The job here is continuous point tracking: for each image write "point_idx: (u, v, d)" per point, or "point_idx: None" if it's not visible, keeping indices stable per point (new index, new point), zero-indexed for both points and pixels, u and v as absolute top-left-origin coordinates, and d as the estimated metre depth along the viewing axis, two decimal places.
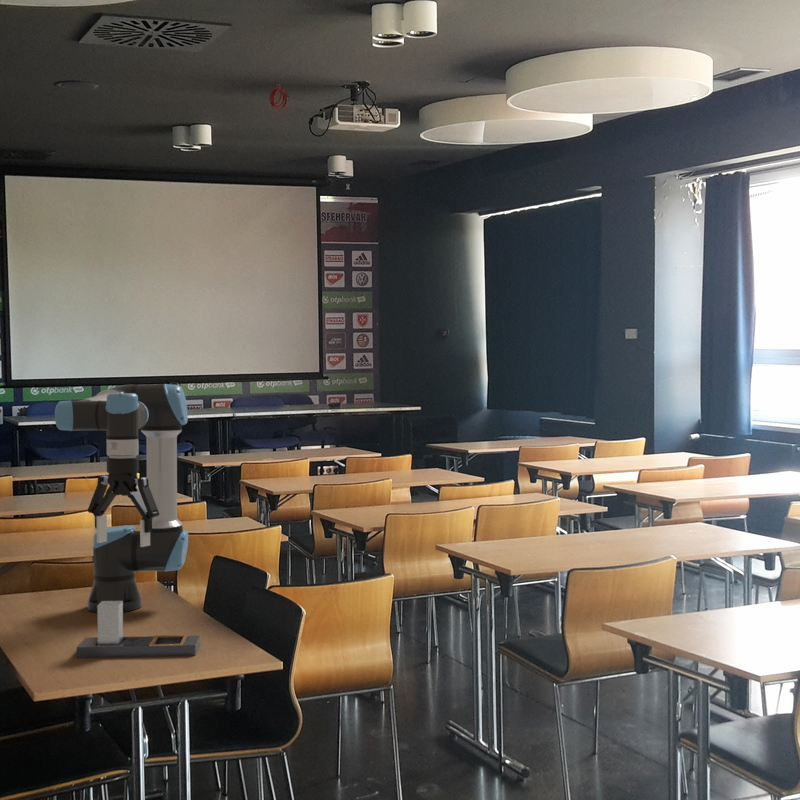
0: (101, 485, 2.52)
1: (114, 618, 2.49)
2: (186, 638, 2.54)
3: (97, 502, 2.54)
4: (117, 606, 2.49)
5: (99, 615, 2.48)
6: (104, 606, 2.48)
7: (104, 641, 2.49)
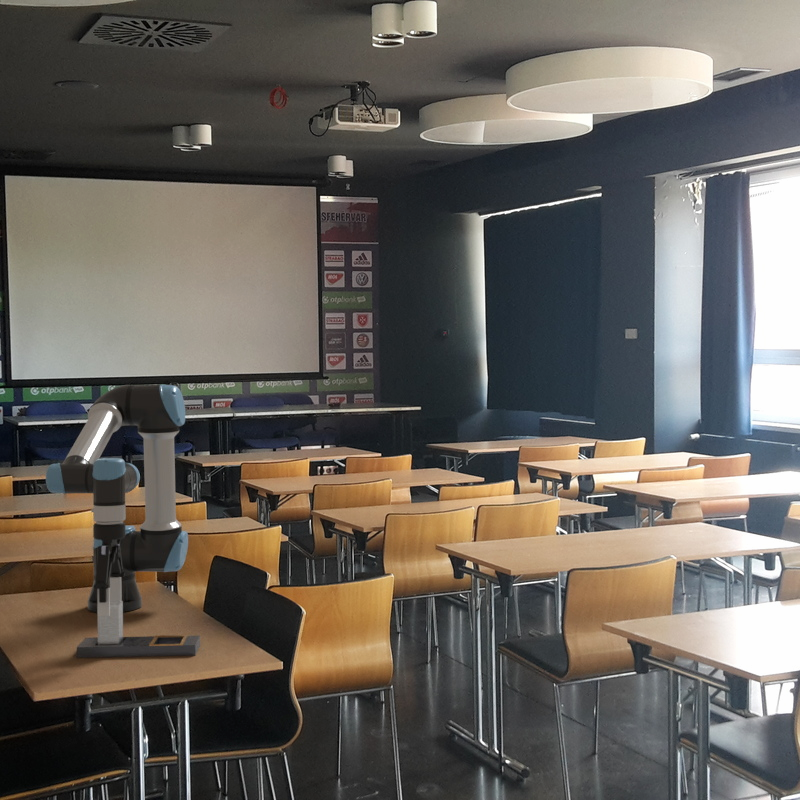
0: None
1: (114, 618, 2.49)
2: (186, 638, 2.54)
3: None
4: (117, 606, 2.49)
5: None
6: None
7: (104, 641, 2.49)
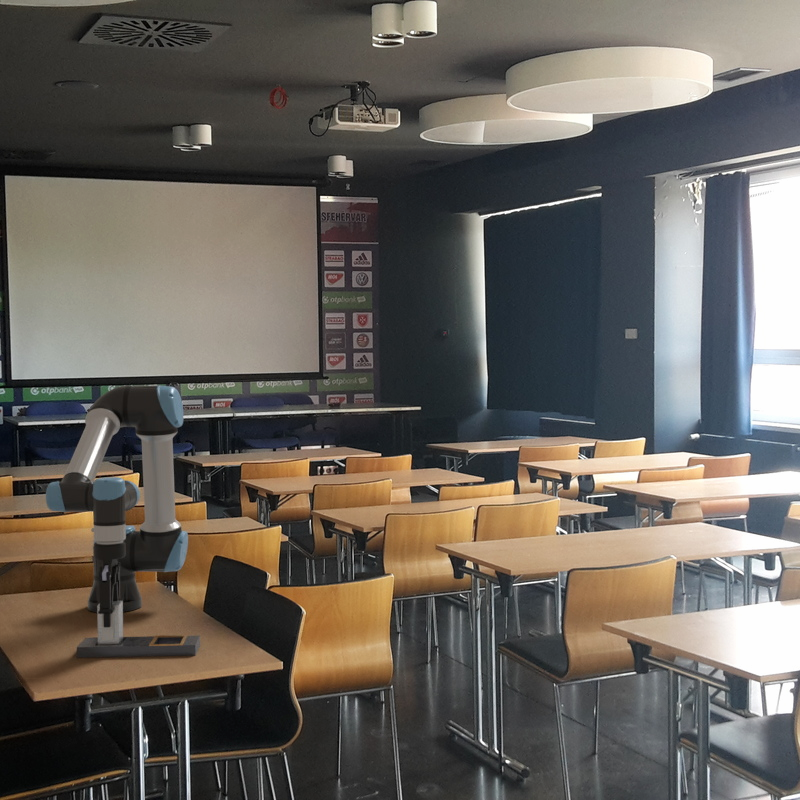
0: None
1: (114, 618, 2.49)
2: (186, 638, 2.54)
3: None
4: (117, 606, 2.49)
5: (99, 615, 2.48)
6: None
7: (104, 641, 2.49)
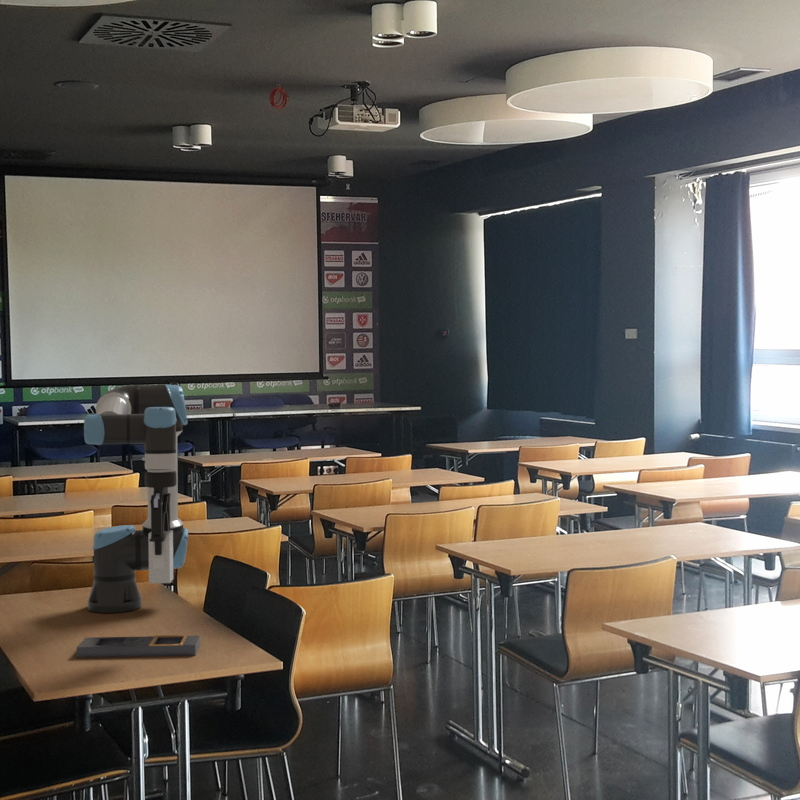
0: None
1: (165, 546, 2.49)
2: (186, 638, 2.54)
3: None
4: (168, 534, 2.49)
5: (150, 543, 2.49)
6: None
7: (155, 569, 2.49)
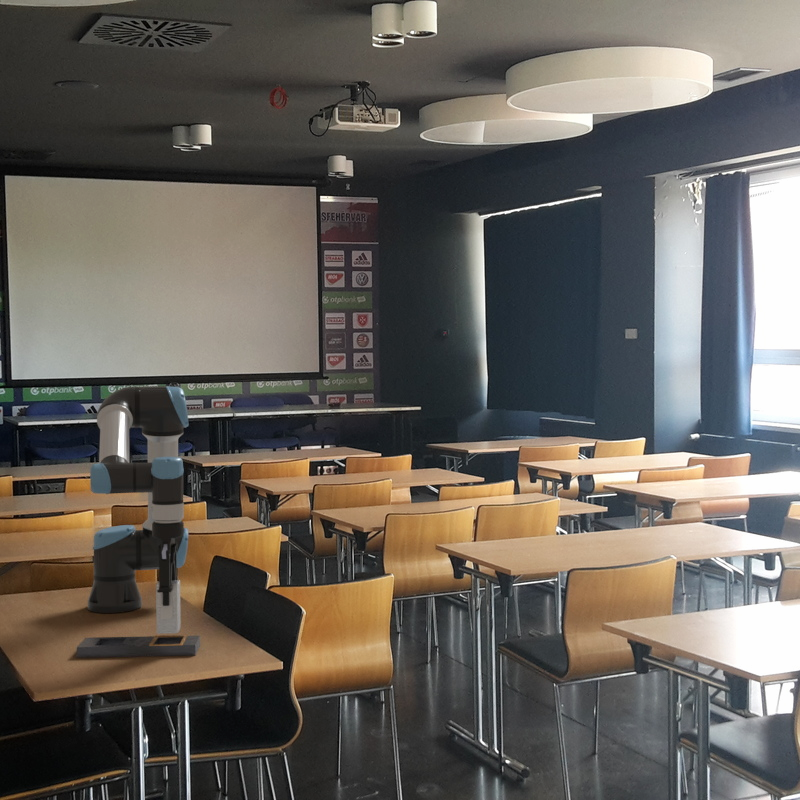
0: None
1: None
2: (186, 638, 2.54)
3: None
4: (176, 585, 2.50)
5: (158, 594, 2.49)
6: None
7: (163, 619, 2.50)
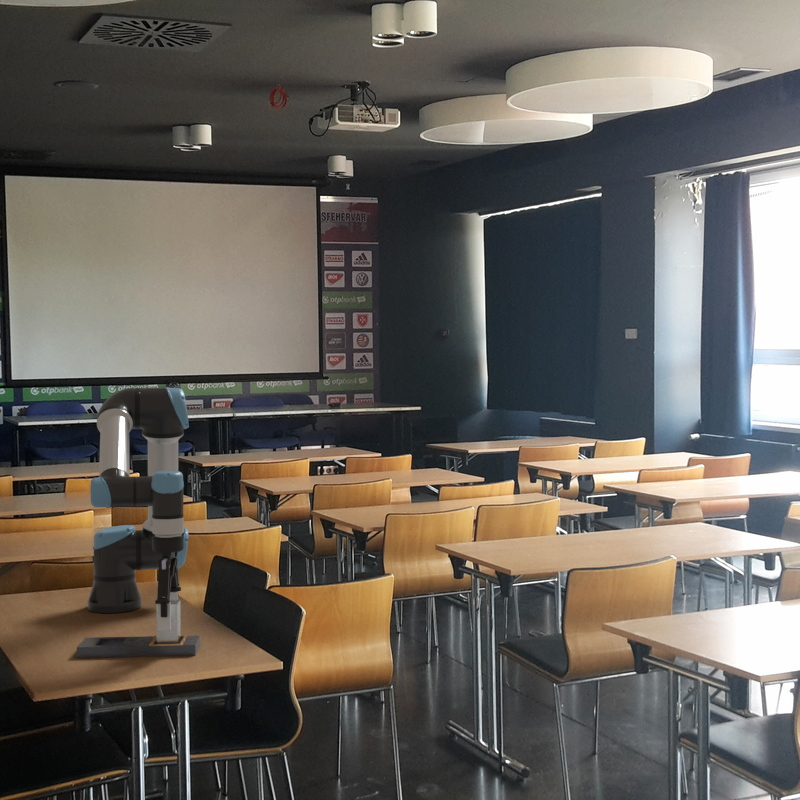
0: None
1: (173, 617, 2.50)
2: (186, 638, 2.54)
3: None
4: (176, 605, 2.50)
5: (158, 614, 2.49)
6: None
7: (163, 640, 2.50)
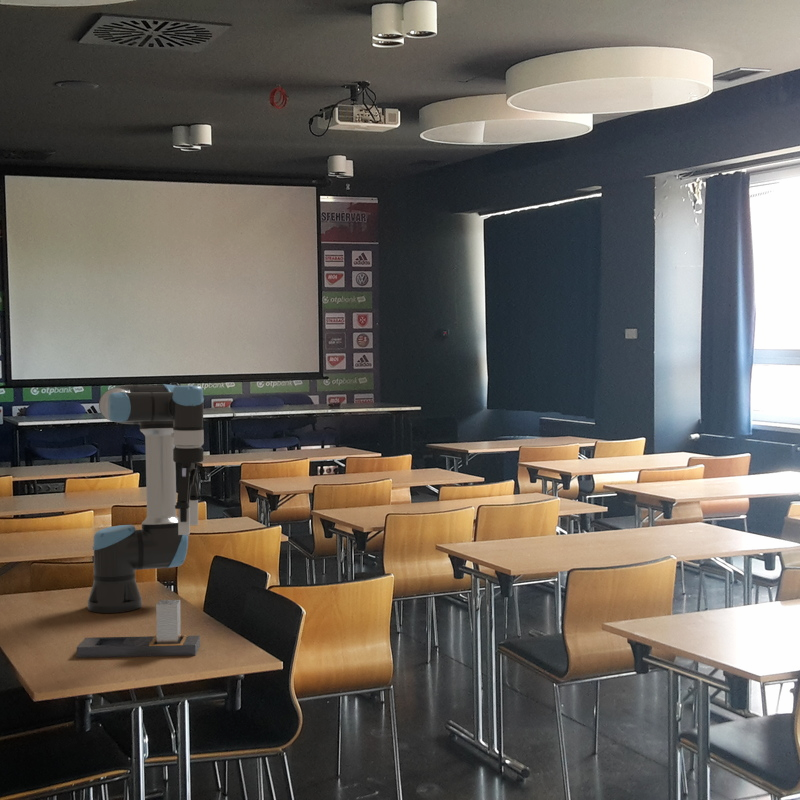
0: None
1: (173, 617, 2.50)
2: (186, 638, 2.54)
3: None
4: (176, 605, 2.50)
5: (158, 614, 2.49)
6: (163, 605, 2.49)
7: (163, 640, 2.50)
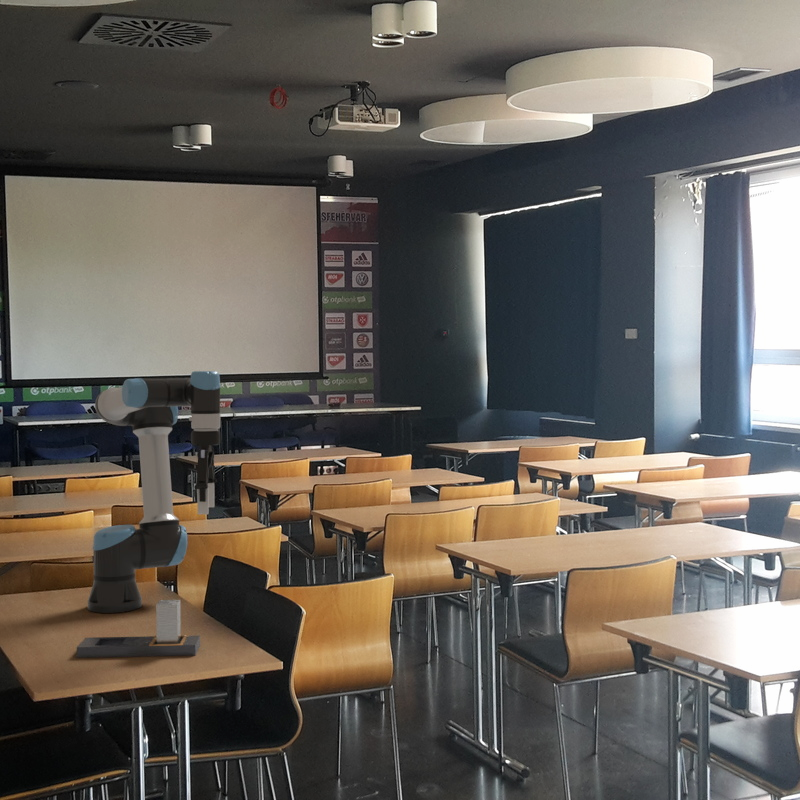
0: None
1: (172, 617, 2.50)
2: (186, 638, 2.54)
3: None
4: (176, 605, 2.50)
5: (158, 614, 2.49)
6: (163, 605, 2.49)
7: (163, 640, 2.50)
